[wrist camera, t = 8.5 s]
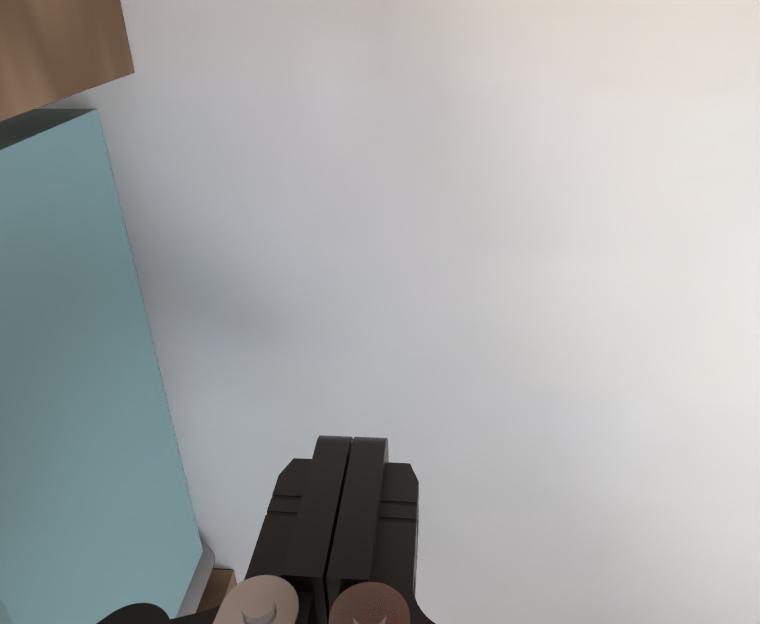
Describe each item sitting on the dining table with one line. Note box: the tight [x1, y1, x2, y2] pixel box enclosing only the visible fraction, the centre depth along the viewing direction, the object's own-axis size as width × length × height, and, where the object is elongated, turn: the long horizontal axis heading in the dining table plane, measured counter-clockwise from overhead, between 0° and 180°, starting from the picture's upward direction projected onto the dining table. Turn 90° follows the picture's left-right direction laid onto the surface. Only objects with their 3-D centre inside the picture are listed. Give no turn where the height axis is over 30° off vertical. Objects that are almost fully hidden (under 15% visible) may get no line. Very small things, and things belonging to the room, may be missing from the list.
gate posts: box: [0, 0, 237, 613], centre depth 15 cm, size 25×3×11 cm, turn 1°
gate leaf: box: [0, 109, 215, 624], centre depth 16 cm, size 18×2×10 cm, turn 1°
